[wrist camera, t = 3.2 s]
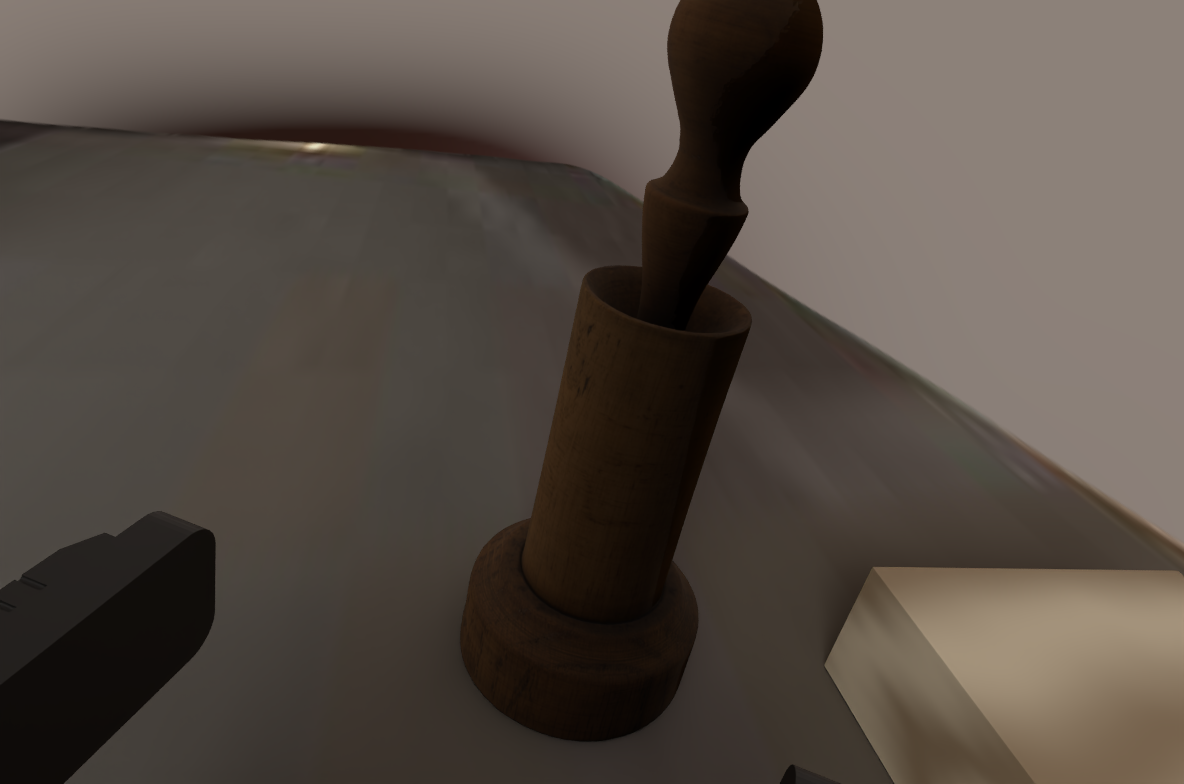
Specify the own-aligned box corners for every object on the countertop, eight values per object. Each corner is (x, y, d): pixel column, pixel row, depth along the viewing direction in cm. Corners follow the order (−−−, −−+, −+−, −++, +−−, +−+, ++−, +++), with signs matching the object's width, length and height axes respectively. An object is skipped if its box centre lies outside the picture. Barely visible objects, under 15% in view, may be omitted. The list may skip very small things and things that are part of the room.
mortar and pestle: (442, 572, 26) (559, -84, 17) (634, 564, 28) (818, -16, 20) (482, 758, 20) (680, -63, 12) (715, 730, 23) (1017, 28, 14)
